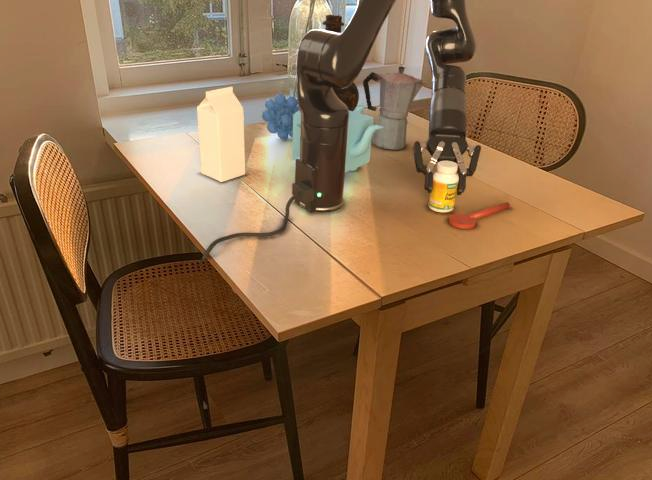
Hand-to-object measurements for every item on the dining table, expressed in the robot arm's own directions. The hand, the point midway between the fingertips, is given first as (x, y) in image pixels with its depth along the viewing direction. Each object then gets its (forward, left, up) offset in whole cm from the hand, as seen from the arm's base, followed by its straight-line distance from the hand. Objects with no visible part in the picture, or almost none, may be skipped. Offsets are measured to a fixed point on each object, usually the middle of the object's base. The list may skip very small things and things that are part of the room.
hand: (444, 192), depth 118 cm
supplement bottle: (+1, +1, -4) cm, 5 cm away
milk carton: (-29, +40, -5) cm, 50 cm away
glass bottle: (+18, +64, -5) cm, 67 cm away
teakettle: (-5, +30, -5) cm, 31 cm away
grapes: (-4, +53, -5) cm, 54 cm away
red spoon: (+6, -6, -4) cm, 9 cm away
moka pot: (+18, +37, -5) cm, 42 cm away
